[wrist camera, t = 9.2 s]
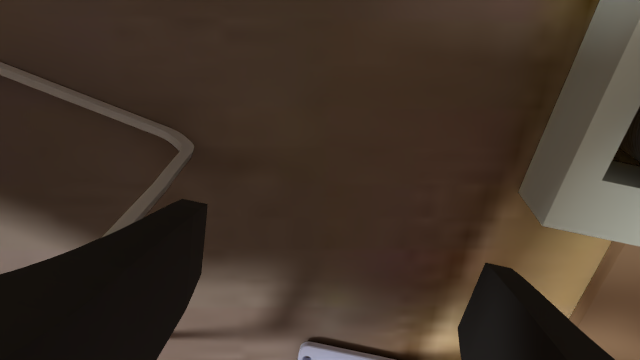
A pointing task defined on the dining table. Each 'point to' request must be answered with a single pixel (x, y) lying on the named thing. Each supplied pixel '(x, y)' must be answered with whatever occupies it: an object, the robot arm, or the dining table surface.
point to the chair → (169, 134)
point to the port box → (592, 135)
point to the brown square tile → (613, 303)
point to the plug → (632, 138)
